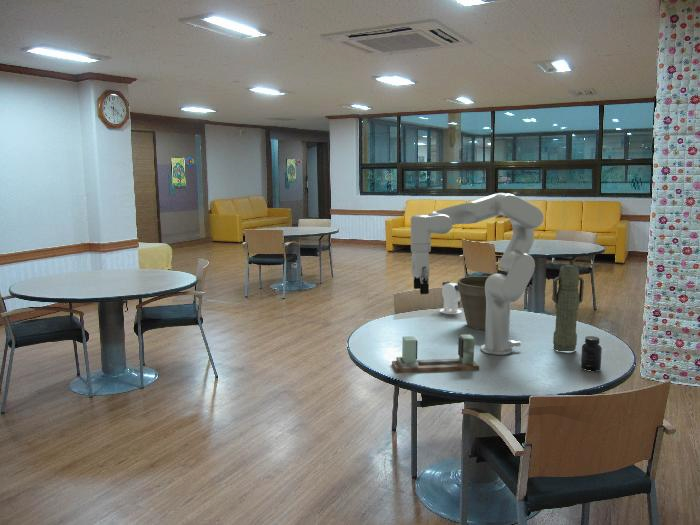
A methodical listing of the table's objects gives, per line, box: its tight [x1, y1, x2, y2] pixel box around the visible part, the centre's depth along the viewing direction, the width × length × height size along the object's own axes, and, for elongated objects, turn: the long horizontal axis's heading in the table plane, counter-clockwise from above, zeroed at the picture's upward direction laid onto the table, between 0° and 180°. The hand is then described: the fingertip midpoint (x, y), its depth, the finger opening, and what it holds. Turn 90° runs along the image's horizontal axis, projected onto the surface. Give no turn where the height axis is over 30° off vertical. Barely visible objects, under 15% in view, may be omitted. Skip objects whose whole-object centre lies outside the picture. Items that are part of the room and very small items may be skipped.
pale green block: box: [401, 335, 419, 364], centre depth 219 cm, size 5×5×10 cm
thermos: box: [551, 264, 585, 351], centre depth 239 cm, size 9×12×35 cm
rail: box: [391, 334, 480, 374], centre depth 220 cm, size 31×9×12 cm, turn 96°
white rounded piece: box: [439, 280, 463, 315], centre depth 305 cm, size 12×11×15 cm
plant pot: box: [457, 275, 489, 331], centre depth 276 cm, size 25×25×22 cm
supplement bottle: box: [580, 335, 603, 372], centre depth 219 cm, size 7×7×12 cm
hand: (421, 291), depth 229 cm, fingers open, 9 cm apart
